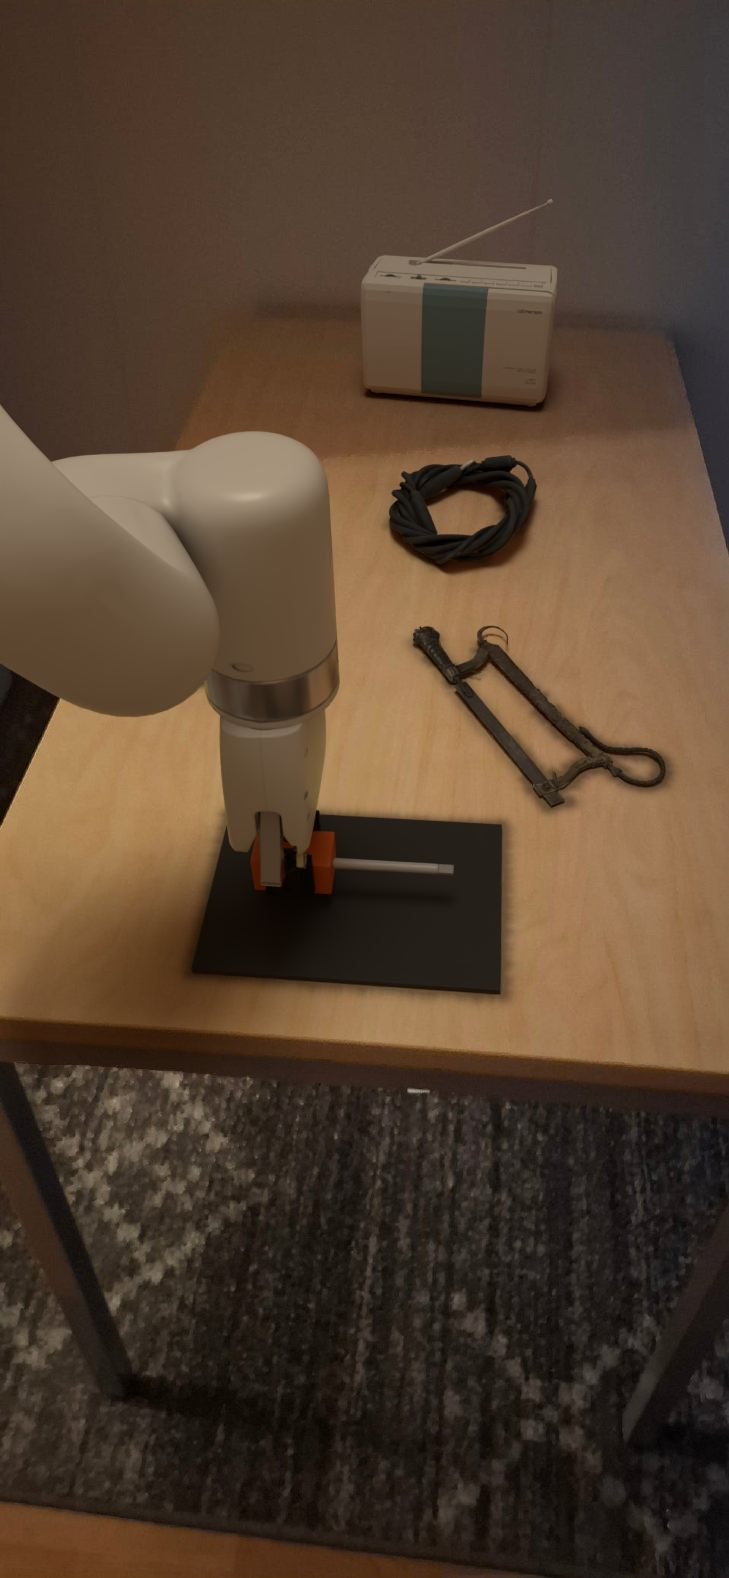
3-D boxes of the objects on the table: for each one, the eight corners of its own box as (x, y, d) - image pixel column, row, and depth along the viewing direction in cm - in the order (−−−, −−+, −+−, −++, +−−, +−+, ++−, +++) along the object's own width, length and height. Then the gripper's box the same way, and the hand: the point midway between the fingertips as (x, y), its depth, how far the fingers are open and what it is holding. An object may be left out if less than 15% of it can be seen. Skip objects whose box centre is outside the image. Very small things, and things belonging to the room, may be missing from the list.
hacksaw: (406, 638, 91) (406, 624, 90) (508, 604, 94) (509, 590, 93) (561, 824, 76) (563, 810, 75) (676, 776, 79) (680, 762, 78)
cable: (512, 584, 96) (516, 543, 93) (365, 562, 99) (364, 522, 95) (542, 487, 107) (547, 447, 104) (410, 470, 110) (411, 431, 107)
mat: (191, 972, 68) (190, 969, 68) (230, 812, 77) (230, 808, 77) (500, 993, 66) (500, 990, 66) (501, 827, 76) (501, 824, 75)
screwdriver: (254, 890, 70) (249, 861, 68) (262, 855, 72) (257, 827, 70) (451, 902, 69) (453, 873, 67) (453, 866, 71) (455, 838, 69)
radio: (361, 399, 121) (355, 212, 106) (376, 367, 126) (373, 184, 111) (542, 415, 117) (562, 223, 102) (550, 381, 122) (570, 195, 108)
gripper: (230, 572, 63) (260, 781, 76) (170, 766, 52) (217, 970, 65) (353, 577, 62) (362, 786, 76) (319, 774, 51) (336, 979, 65)
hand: (295, 870), depth 70 cm, fingers closed on screwdriver, 3 cm apart
